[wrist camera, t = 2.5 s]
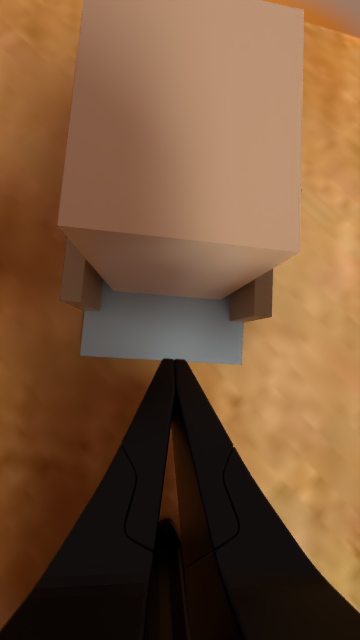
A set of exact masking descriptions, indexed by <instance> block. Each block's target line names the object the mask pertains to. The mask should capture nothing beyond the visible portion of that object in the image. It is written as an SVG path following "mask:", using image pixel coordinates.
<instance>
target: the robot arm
mask: <svg viewBox="0 0 360 640" xmlns="http://www.w3.org/2000/svg"><path fill="white" fill-rule="evenodd" d="M170 428H171V429H172V440H173V451H174V462H175V473H176V484H177V495H178V507H179V518H180V529H181V538H180V535H179V533H178V531H177V529H176V527H175V525H174V523H173V521H172V520H171V519H169V518H165V519H163V520H161V521H159V514H160V507H161V499H162V491H163V483H164V475H165V468H166V460H167V452H168V444H169V436H170ZM165 527H169V529H168V530H164V528H165ZM0 640H360V613H359V612H358V611H357V610H356V609H355V608H354V607H353V606H352V605H351V604H350V603H349V602H348V601H347V600H346V599H345V598H344V597H343V596H342V595H341V594H340V593H339V592H338V591H337V590H336V589H335V588H334V587H333V586H332V585H331V584H330V583H329V582H328V581H327V580H326V579H325V578H324V577H323V576H322V575H321V573H320V572H319V571H318V570H317V569H316V567H315V566H314V565H313V564H312V562H311V561H310V560H309V559H308V557H307V556H306V555H305V553H304V552H303V550H302V549H301V548H300V546H299V545H298V543H297V542H296V540H295V539H294V538H293V536H292V535H291V533H290V532H289V530H288V529H287V527H286V526H285V525H284V523H283V522H282V520H281V519H280V517H279V516H278V514H277V513H276V512H275V510H274V509H273V507H272V506H271V504H270V503H269V501H268V500H267V499H266V497H265V496H264V494H263V493H262V491H261V490H260V488H259V487H258V485H257V484H256V482H255V480H254V479H253V477H252V476H251V474H250V472H249V471H248V469H247V467H246V466H245V464H244V462H243V461H242V459H241V457H240V455H239V454H238V452H237V450H236V448H235V447H233V443H232V441H231V440H230V438H229V436H228V434H227V433H226V431H225V429H224V427H223V425H222V424H221V422H220V420H219V418H218V417H217V415H216V413H215V411H214V409H213V408H212V406H211V404H210V402H209V401H208V399H207V397H206V395H205V393H204V392H203V390H202V388H201V386H200V385H199V383H198V381H197V379H196V377H195V376H194V374H193V372H192V370H191V369H190V367H189V365H188V363H187V362H186V360H185V359H175V360H174V359H171V358H163V359H162V361H161V363H160V365H159V367H158V369H157V371H156V373H155V375H154V377H153V379H152V381H151V383H150V385H149V388H148V390H147V392H146V394H145V396H144V398H143V400H142V402H141V404H140V406H139V408H138V410H137V412H136V414H135V416H134V418H133V420H132V422H131V424H130V426H129V428H128V430H127V432H126V434H125V436H124V438H123V440H122V443H121V445H120V446H119V448H118V450H117V452H116V454H115V456H114V458H113V460H112V462H111V464H110V466H109V468H108V470H107V472H106V474H105V475H104V477H103V479H102V481H101V482H100V484H99V486H98V488H97V489H96V491H95V493H94V494H93V496H92V498H91V499H90V501H89V502H88V504H87V506H86V507H85V509H84V510H83V512H82V514H81V515H80V517H79V518H78V520H77V522H76V523H75V525H74V526H73V528H72V529H71V531H70V533H69V534H68V536H67V537H66V539H65V541H64V542H63V544H62V545H61V547H60V549H59V550H58V552H57V553H56V555H55V556H54V558H53V559H52V561H51V562H50V564H49V565H48V567H47V568H46V570H45V571H44V573H43V574H42V576H41V577H40V579H39V580H38V582H37V583H36V584H35V586H34V587H33V589H32V590H31V591H30V593H29V594H28V595H27V597H26V598H25V600H24V601H23V602H22V603H21V605H20V606H19V607H18V608H17V610H16V611H15V612H14V613H13V615H12V616H11V617H10V619H9V620H8V621H7V622H6V624H5V625H4V626H3V627H2V629H1V630H0Z"/></svg>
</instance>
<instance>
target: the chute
mask: <svg viewBox="0 0 360 640" xmlns="http://www.w3.org/2000/svg"><path fill="white" fill-rule="evenodd" d="M272 285H273V269H271V270H269V271H268V272H266V273H264V274H263V275H261V276H259V277H258V278H256V279H254V280H253V281H251V282H249V283H248V284H246V285H244V286H243V287H241V288H239V289H238V290H236V291H234V292H233V293H231V294H229V295H228V296H226V297H224V298H223V299H221V300H217V299H205V298H193V297H181V296H169V295H158V294H146V293H134V292H122V291H113V290H112V289H111V287H110V286H109V285H108V284H107V283H106V282H105V280H104V279H103V278H102V277H101V276H100V275H99V273H98V272H97V271H96V270H95V269H94V268H93V266H92V265H91V264H90V263H89V262H88V261H87V260H86V258H85V257H84V256H83V255H82V254H81V253H80V251H79V250H78V249H77V248H76V247H75V246H74V244H73V243H72V242H71V241H70V240H69V239H68V237H67V240H66V249H65V258H64V267H63V276H62V285H61V294H60V301H62V302H65V303H67V304H70V305H72V306H75V307H77V308H80V309H82V310H85V312H84V321H83V331H82V341H81V351H80V356H92V357H111V358H129V359H147V360H162V359H163V358H171V359H174V360H175V359H185V360H186V362H202V363H221V364H239V365H242V344H243V322H248V321H253V320H258V319H263V318H269V317H272Z"/></svg>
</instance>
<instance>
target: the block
mask: <svg viewBox="0 0 360 640" xmlns="http://www.w3.org/2000/svg"><path fill="white" fill-rule="evenodd" d="M303 33H304V10H302V9H297V8H292V7H288V6H284V5H280V4H275V3H270V2H266V1H262V0H84V1H83V10H82V18H81V27H80V35H79V44H78V52H77V61H76V69H75V78H74V86H73V95H72V103H71V112H70V120H69V129H68V137H67V146H66V154H65V163H64V171H63V180H62V188H61V197H60V205H59V214H58V222H57V226H58V227H59V228H60V229H61V230H62V232H63V233H64V234H65V235H66V236H67V237H68V239H69V240H70V241H71V242H72V243H73V244H74V246H75V247H76V248H77V249H78V250H79V251H80V253H81V254H82V255H83V256H84V257H85V258H86V260H87V261H88V262H89V263H90V264H91V265H92V266H93V268H94V269H95V270H96V271H97V272H98V273H99V275H100V276H101V277H102V278H103V279H104V280H105V282H106V283H107V284H108V285H109V286H110V287H111V289H112V290H113V291H122V292H134V293H146V294H158V295H169V296H181V297H193V298H205V299H217V300H221V299H223V298H224V297H226V296H228V295H229V294H231V293H233V292H234V291H236V290H238V289H239V288H241V287H243V286H244V285H246V284H248V283H249V282H251V281H253V280H254V279H256V278H258V277H259V276H261V275H263V274H264V273H266V272H268V271H269V270H271V269H273V268H274V267H276V266H278V265H279V264H281V263H283V262H284V261H286V260H288V259H289V258H291V257H293V256H294V255H296V254H298V253H299V252H300V219H301V157H302V95H303Z"/></svg>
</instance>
